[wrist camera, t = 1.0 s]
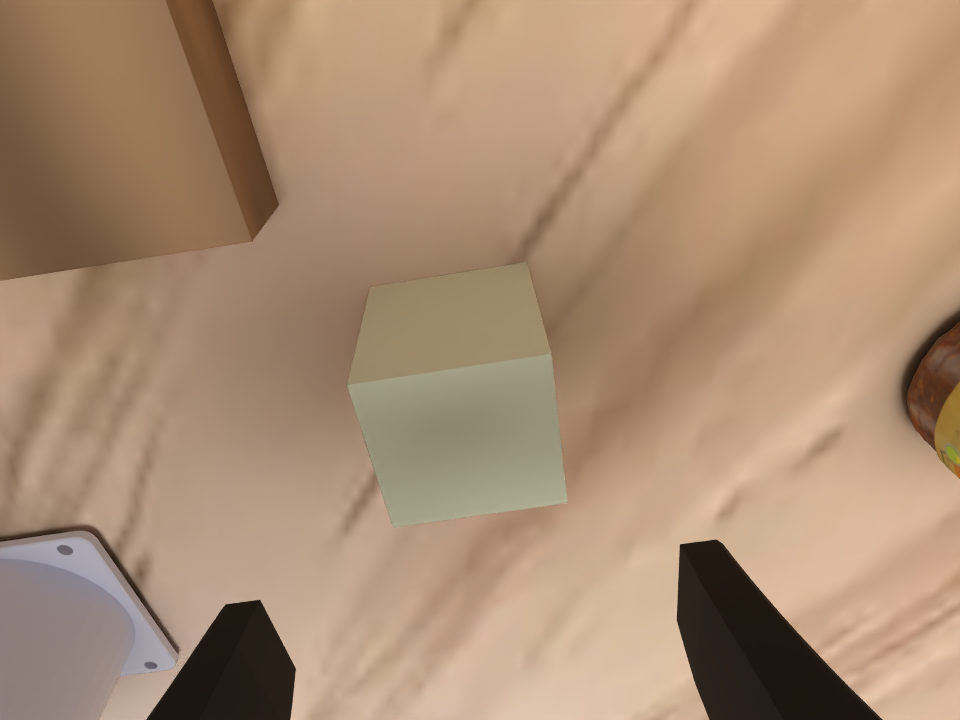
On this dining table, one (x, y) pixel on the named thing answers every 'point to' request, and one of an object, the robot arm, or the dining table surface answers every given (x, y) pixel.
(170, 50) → the walnut block
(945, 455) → the sauce bottle
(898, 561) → the dining table surface
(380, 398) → the sage cube
